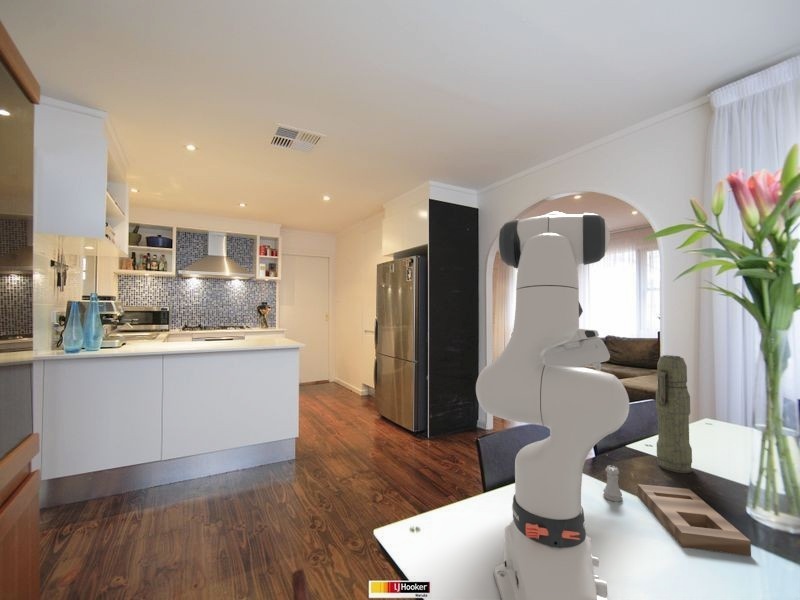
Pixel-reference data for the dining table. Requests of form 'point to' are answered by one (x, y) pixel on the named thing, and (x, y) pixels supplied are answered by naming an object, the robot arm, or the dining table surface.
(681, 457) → the thermos
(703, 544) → the block
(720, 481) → the dining table surface
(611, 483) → the rook chess piece
